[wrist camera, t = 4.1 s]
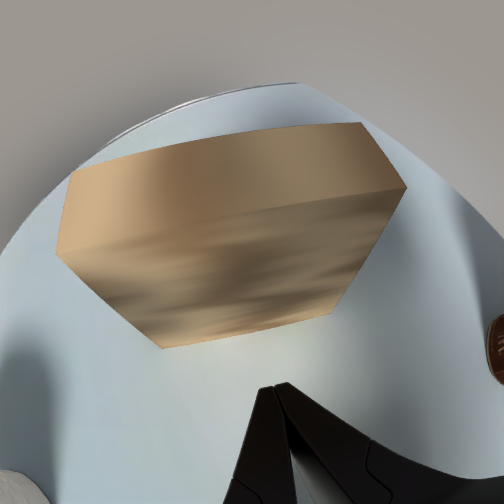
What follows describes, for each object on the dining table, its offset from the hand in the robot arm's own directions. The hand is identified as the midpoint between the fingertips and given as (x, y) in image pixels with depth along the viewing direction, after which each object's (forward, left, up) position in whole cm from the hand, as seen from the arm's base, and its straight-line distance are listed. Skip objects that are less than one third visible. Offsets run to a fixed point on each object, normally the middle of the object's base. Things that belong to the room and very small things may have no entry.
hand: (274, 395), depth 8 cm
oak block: (0, -6, -10) cm, 12 cm away
